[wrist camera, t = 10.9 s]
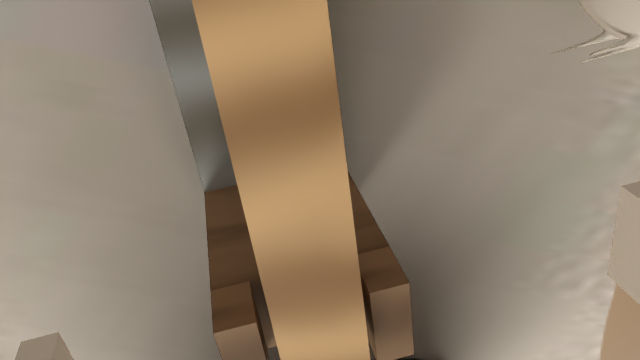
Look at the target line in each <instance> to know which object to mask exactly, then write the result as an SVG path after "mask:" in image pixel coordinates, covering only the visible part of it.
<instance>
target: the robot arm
mask: <svg viewBox="0 0 640 360" xmlns="http://www.w3.org/2000/svg"><path fill="white" fill-rule="evenodd" d="M607 275H608V276H609V277H610V278H611V279H612V280H614V281H615V282H616V283H617V284H618V285H619V286H620V287H621V288H622V289H623V290H625V292H627V293H628V294H629V295H630V296H631V297H632V298H633V299H634V300H635V301H637V303H638V304H640V182H636V183H632V184H629V185H625V186H621V192H620V198H619V205H618V211H617V217H616V223H615V230H614V236H613V242H612V249H611V255H610V261H609V267H608V274H607ZM15 360H74V359H73V358H72V356H71V354H70V352H69V350H68V348H67V347H66V345H65V343H64V341H63V339H62V338H61V336H60V334H59V332H58V333H54V334H50V335H47V336H43V337H39V338H35V339H31V340H27V341H23V342H21V344H20V347H19V350H18V352H17V355H16V358H15ZM399 360H415V359H399Z"/></svg>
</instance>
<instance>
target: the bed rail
mask: <svg viewBox="0 0 640 360" xmlns="http://www.w3.org/2000/svg"><path fill="white" fill-rule="evenodd" d="M192 4H193V8H194V12H195V16H196V20H197V24H198V28H199V32H200V36H201V40H202V44H203V48H204V52H205V56H206V60H207V64H208V68H209V72H210V76H211V81H212V85H213V89H214V93H215V97H216V101H217V105H218V109H219V113H220V117H221V121H222V125H223V129H224V133H225V137H226V141H227V145H228V149H229V153H230V157H231V161H232V166H233V170H234V174H235V178H236V182H237V186H238V190H239V194H240V198H241V202H242V206H243V210H244V214H245V218H246V222H247V226H248V230H249V234H250V238H251V242H252V246H253V251H254V255H255V259H256V263H257V267H258V271H259V275H260V279H261V283H262V287H263V291H264V295H265V299H266V303H267V307H268V311H269V315H270V319H271V323H272V327H273V331H274V336H275V340H276V344H277V348H278V352H279V356H280V360H370V351H369V343H368V335H367V327H366V318H365V310H364V302H363V294H362V285H361V277H360V269H359V261H358V252H357V244H356V236H355V228H354V219H353V211H352V203H351V195H350V186H349V178H348V170H347V162H346V154H345V145H344V137H343V129H342V121H341V112H340V104H339V96H338V88H337V79H336V71H335V63H334V55H333V46H332V38H331V30H330V22H329V13H328V5H327V0H192Z"/></svg>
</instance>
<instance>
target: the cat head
mask: <svg viewBox="0 0 640 360" xmlns="http://www.w3.org/2000/svg"><path fill="white" fill-rule="evenodd" d="M578 1H579V2H580V4H581V6H582V7H583V8H584V10H585V11H586V12H587V14H588V15H589V16H590V17H591V18H592V19H593V20H594V21H595V22H596V23H597V24H598V25H600V26H601V27H602V28H603V29H604V32H603V33H601V34H600V35H599V36H597V37H595V38H593V39H591V40H589V41H586V42H584V43H581V44H579V45H576V46H573V47H570V48H567V49H564V50H561V51H566V50H570V49H574V48H578V47H582V46H587V45H591V44H595V43H599V42H603V41H607V40H612V39H623V41H621V42H618V43H616V44H614V45H612V46H609V47H607V48H604V49H601V50H599V51H596V52H594V53H592V54H591V55H590V56H592V55H596V54H600V53H604V52H606V53H604V54H601V55H599V56H596V57H593V58H591V59H588V60H585V61H583V62H581V63H584V62H588V61H591V60H595V59H599V58H602V57H606V56H609V55H613V54H617V53H620V52H624V51H627V50H631V49H634V48H638V47H640V0H578ZM561 51H558V52H561ZM608 51H609V52H608ZM555 53H557V52H555ZM552 54H553V53H552Z"/></svg>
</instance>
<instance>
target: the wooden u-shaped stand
mask: <svg viewBox="0 0 640 360" xmlns="http://www.w3.org/2000/svg"><path fill="white" fill-rule="evenodd" d="M149 2H150V5H151V9H152V12H153V16H154V19H155V22H156V26H157V29H158V33H159V36H160V40H161V43H162V47H163V50H164V54H165V57H166V61H167V64H168V68H169V71H170V74H171V78H172V81H173V85H174V88H175V92H176V95H177V99H178V102H179V106H180V109H181V113H182V116H183V120H184V123H185V127H186V130H187V133H188V137H189V140H190V144H191V147H192V151H193V154H194V158H195V161H196V165H197V168H198V172H199V175H200V179H201V182H202V185H203V189H204V194H205V209H206V225H207V241H208V257H209V273H210V289H211V304H212V320H213V334H214V337H215V340H216V343H217V346H218V349H219V352H220V355H221V358H222V360H269V356H268V350H267V348H271V347H275V346H277V344H276V340H275V336H274V331H273V327H272V323H271V319H270V315H269V311H268V307H267V303H266V299H265V295H264V291H263V287H262V283H261V279H260V275H259V271H258V267H257V263H256V259H255V255H254V251H253V246H252V242H251V238H250V234H249V230H248V226H247V222H246V218H245V214H244V210H243V206H242V202H241V198H240V194H239V190H238V186H237V182H236V178H235V174H234V170H233V166H232V161H231V157H230V153H229V149H228V145H227V141H226V137H225V133H224V129H223V125H222V121H221V117H220V113H219V109H218V105H217V101H216V97H215V93H214V89H213V85H212V81H211V76H210V72H209V68H208V64H207V60H206V56H205V52H204V48H203V44H202V40H201V36H200V32H199V28H198V24H197V20H196V16H195V12H194V8H193V4H192V0H149ZM348 178H349V186H350V195H351V203H352V211H353V219H354V228H355V236H356V244H357V252H358V261H359V269H360V277H361V285H362V294H363V302H364V310H365V318H366V327H367V335H368V341H369V343H370V346H371V348H372V351H373V353H374V356H375V358H376V360H395V359H398V358H402V357H406V356H409V355H413V354H414V346H413V330H412V314H411V298H410V283H409V281H408V279H407V277H406V276H405V274H404V272H403V270H402V268H401V267H400V265H399V263H398V261H397V259H396V258H395V256H394V254H393V252H392V250H391V248H390V247H389V245H388V243H387V241H386V239H385V238H384V236H383V234H382V232H381V230H380V229H379V227H378V225H377V223H376V221H375V219H374V218H373V216H372V214H371V212H370V210H369V209H368V207H367V205H366V203H365V201H364V200H363V198H362V196H361V194H360V192H359V190H358V189H357V187H356V185H355V183H354V181H353V180H352V178H351V176H350V174H349V172H348Z"/></svg>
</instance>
